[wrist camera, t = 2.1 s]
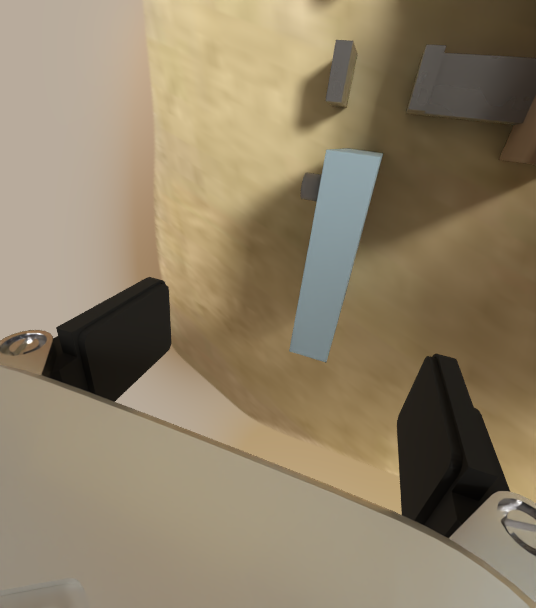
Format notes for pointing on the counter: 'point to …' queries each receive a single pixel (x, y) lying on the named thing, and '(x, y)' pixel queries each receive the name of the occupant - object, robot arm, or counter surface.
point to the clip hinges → (452, 84)
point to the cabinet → (522, 140)
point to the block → (332, 244)
